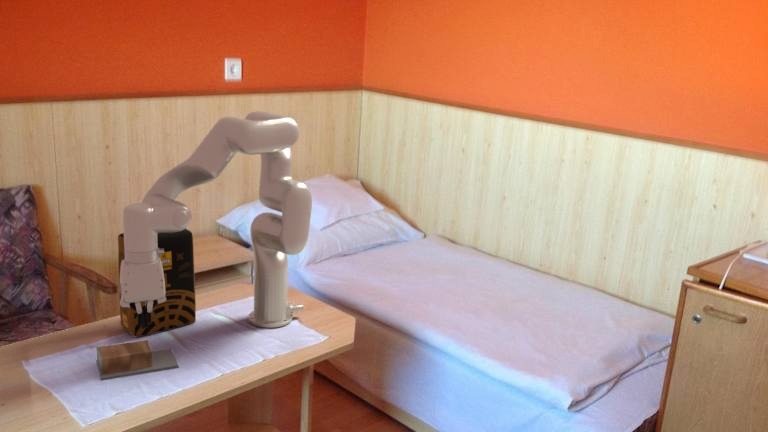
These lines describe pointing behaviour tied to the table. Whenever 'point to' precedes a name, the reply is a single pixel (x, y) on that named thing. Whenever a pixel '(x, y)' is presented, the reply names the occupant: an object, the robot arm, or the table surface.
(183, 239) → the black tall two-tone box
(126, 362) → the block
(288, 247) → the robot arm
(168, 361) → the mat
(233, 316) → the table surface
